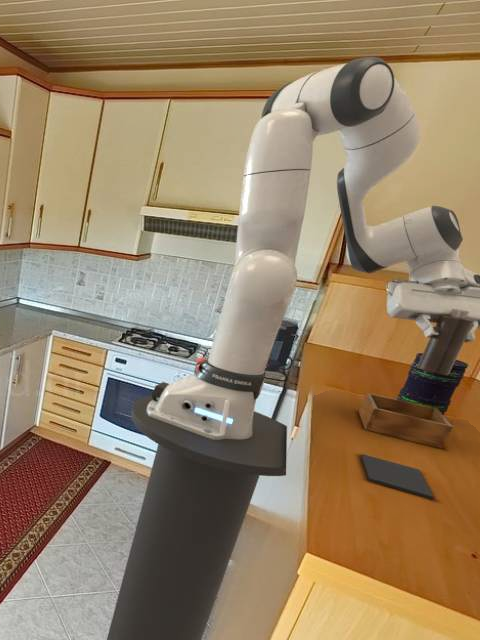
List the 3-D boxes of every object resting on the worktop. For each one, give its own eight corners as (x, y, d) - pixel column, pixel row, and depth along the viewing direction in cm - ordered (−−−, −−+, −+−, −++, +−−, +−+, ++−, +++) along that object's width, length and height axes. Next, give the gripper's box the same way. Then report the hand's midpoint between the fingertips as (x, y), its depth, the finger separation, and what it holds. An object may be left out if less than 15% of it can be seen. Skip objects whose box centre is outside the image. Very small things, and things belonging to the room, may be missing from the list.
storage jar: (403, 417, 122) (429, 360, 117) (384, 403, 131) (408, 350, 126) (451, 425, 120) (479, 368, 114) (428, 411, 129) (454, 357, 123)
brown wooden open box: (365, 429, 112) (374, 408, 110) (358, 411, 123) (366, 392, 121) (442, 449, 105) (453, 426, 103) (427, 428, 116) (437, 408, 114)
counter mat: (368, 480, 88) (369, 477, 88) (360, 456, 97) (361, 453, 97) (432, 499, 83) (434, 496, 83) (417, 472, 93) (419, 469, 93)
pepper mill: (415, 368, 104) (442, 308, 99) (418, 364, 107) (444, 306, 103) (447, 376, 100) (477, 314, 96) (450, 372, 104) (478, 312, 99)
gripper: (395, 269, 105) (405, 323, 99) (504, 281, 102) (520, 337, 96) (375, 287, 111) (383, 339, 105) (477, 298, 107) (491, 353, 102)
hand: (450, 338), depth 101 cm, fingers closed on pepper mill, 5 cm apart
